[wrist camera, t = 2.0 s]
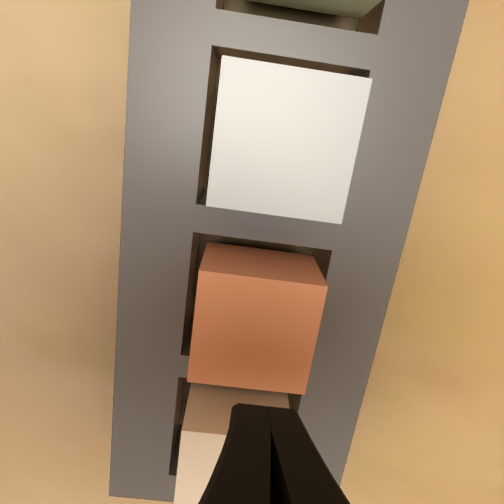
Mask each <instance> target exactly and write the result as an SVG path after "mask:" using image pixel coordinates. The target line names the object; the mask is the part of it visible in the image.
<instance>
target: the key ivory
mask: <svg viewBox="0 0 504 504" xmlns="http://www.w3.org/2000/svg"><path fill="white" fill-rule="evenodd" d="M237 403H243V404H252V405H261V406H271V407H280V408H289V409H290V407H289V401H288V394H287V393H283V392H274V391H265V390H255V389H246V388H237V387H228V386H219V385H210V384H201V383H192V382H191V386H190V391H189V396H188V401H187V406H186V410H185V415H184V420H183V425H182V430H181V439H180V448H179V458H178V467H177V476H176V485H175V495H174V504H198V503H199V501H200V499H201V497H202V495H203V493H204V491H205V489H206V486H207V484H208V482H209V480H210V477H211V475H212V473H213V470H214V468H215V465H216V463H217V460H218V458H219V456H220V453H221V451H222V448H223V445H224V442H225V439H226V436H227V432H228V429H229V423H230V416H231V409H232V406H234V405H236V404H237Z"/></svg>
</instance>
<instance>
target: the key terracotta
mask: <svg viewBox="0 0 504 504" xmlns="http://www.w3.org/2000/svg"><path fill="white" fill-rule="evenodd" d="M327 289H328V285H327V283H326V281H325V279H324V277H323V275H322V273H321V271H320V269H319V267H318V265H317V263H316V260H315V258H314V256H313V255H306V254H298V253H291V252H283V251H275V250H267V249H260V248H252V247H244V246H237V245H229V244H221V243H214V242H207V245H206V248H205V251H204V255H203V258H202V261H201V265H200V268H199V273H198V282H197V291H196V300H195V310H194V319H193V328H192V337H191V347H190V356H189V365H188V374H187V382H192V383H201V384H210V385H219V386H228V387H237V388H246V389H255V390H265V391H274V392H283V393H292V394H301V395H305V392H306V387H307V383H308V378H309V373H310V369H311V364H312V359H313V355H314V350H315V345H316V341H317V336H318V331H319V327H320V322H321V317H322V313H323V308H324V303H325V299H326V294H327Z"/></svg>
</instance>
